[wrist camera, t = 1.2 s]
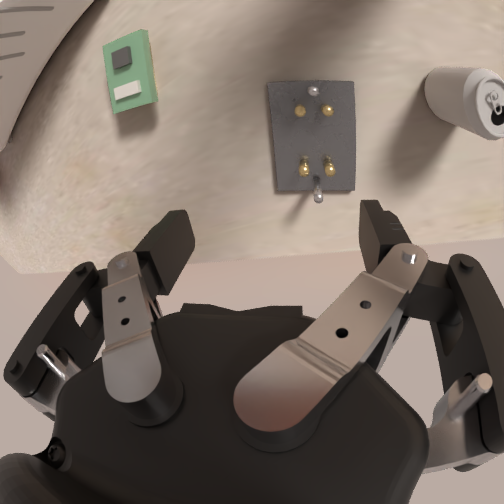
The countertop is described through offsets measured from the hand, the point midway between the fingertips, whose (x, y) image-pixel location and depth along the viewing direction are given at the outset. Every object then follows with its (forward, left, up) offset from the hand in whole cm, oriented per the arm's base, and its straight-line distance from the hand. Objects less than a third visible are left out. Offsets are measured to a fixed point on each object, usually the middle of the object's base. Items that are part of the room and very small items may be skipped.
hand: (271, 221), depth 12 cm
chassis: (+1, +3, -23) cm, 23 cm away
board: (-11, -18, -20) cm, 30 cm away
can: (-6, +21, -24) cm, 32 cm away
